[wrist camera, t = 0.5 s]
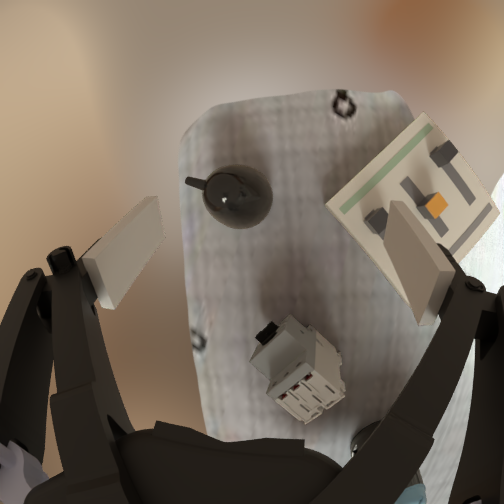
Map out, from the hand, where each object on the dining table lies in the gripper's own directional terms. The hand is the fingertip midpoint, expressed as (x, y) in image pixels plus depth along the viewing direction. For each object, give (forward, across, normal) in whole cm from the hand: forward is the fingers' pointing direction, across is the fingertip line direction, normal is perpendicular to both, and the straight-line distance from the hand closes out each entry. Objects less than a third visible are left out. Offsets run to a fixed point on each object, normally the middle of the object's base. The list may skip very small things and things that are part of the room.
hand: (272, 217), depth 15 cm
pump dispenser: (+32, +7, +12) cm, 35 cm away
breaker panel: (+29, -23, +11) cm, 39 cm away
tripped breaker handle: (+25, -22, +9) cm, 34 cm away
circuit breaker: (+20, -3, +34) cm, 40 cm away
